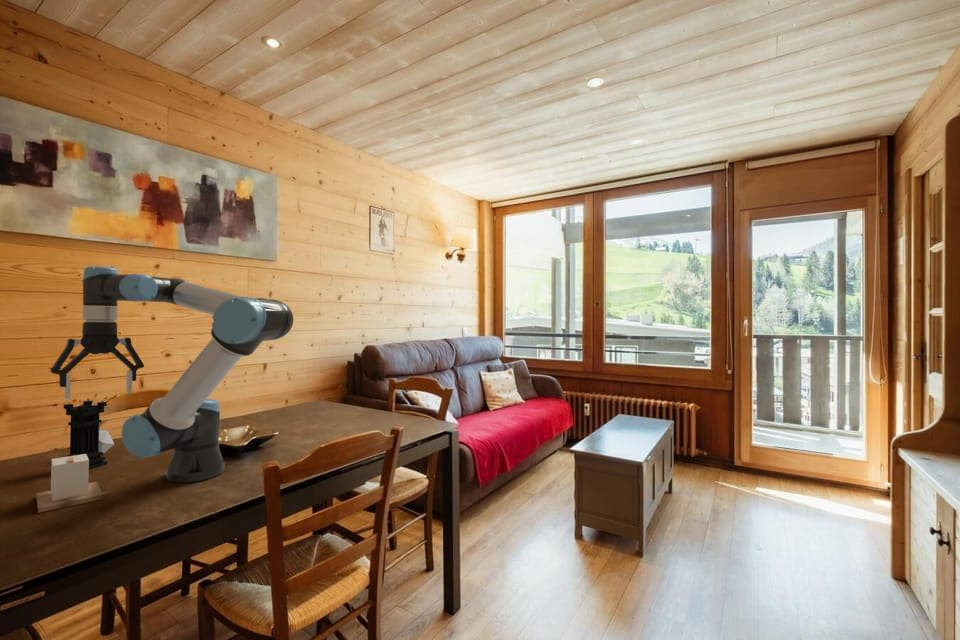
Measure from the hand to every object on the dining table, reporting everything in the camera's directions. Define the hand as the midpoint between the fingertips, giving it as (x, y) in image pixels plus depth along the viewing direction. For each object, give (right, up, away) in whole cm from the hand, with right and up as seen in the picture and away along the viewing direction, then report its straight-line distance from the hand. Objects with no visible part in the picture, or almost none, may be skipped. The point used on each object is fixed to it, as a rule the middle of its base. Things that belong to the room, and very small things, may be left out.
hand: (99, 395), depth 127 cm
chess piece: (-15, -25, +12) cm, 32 cm away
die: (-22, -24, +24) cm, 40 cm away
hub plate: (+1, -25, -10) cm, 27 cm away
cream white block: (+1, -24, -10) cm, 26 cm away
